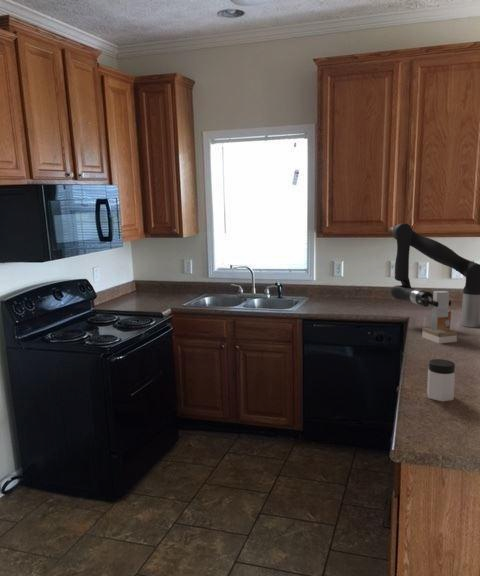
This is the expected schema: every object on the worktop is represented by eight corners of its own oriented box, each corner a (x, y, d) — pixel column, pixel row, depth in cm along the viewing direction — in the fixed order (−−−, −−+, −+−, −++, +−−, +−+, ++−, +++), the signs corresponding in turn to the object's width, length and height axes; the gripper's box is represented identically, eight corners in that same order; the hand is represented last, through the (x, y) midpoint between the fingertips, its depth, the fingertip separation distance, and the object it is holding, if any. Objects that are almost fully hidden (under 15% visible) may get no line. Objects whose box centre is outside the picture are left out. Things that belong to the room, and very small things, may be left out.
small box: (436, 332, 256) (437, 311, 254) (429, 329, 262) (430, 309, 260) (450, 331, 258) (451, 310, 257) (443, 328, 264) (444, 308, 262)
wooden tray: (439, 335, 250) (439, 325, 249) (456, 341, 239) (457, 331, 238) (422, 337, 247) (422, 327, 246) (439, 343, 236) (439, 333, 235)
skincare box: (443, 315, 244) (445, 290, 242) (448, 317, 240) (450, 292, 237) (431, 315, 243) (432, 290, 241) (435, 317, 239) (437, 292, 237)
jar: (458, 396, 172) (460, 362, 170) (448, 403, 166) (450, 368, 164) (431, 390, 178) (433, 357, 176) (421, 396, 172) (423, 362, 170)
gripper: (409, 291, 251) (431, 297, 235) (433, 289, 255) (457, 295, 240) (408, 306, 252) (430, 313, 237) (432, 304, 257) (456, 310, 241)
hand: (444, 304), depth 238 cm, fingers closed on skincare box, 6 cm apart
